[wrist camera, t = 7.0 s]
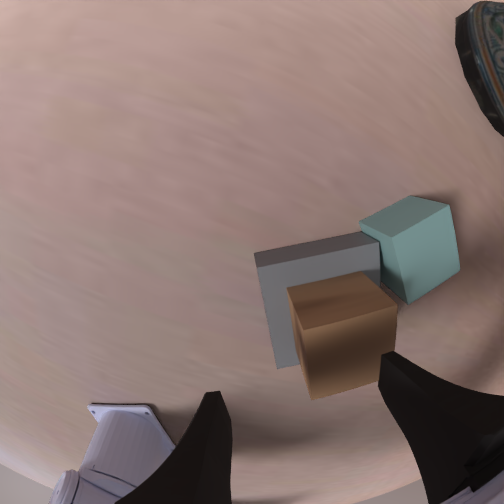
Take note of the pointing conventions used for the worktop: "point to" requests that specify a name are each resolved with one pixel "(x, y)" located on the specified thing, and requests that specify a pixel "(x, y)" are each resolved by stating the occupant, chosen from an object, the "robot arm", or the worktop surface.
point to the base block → (308, 279)
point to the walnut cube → (341, 331)
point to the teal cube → (414, 245)
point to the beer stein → (484, 57)
